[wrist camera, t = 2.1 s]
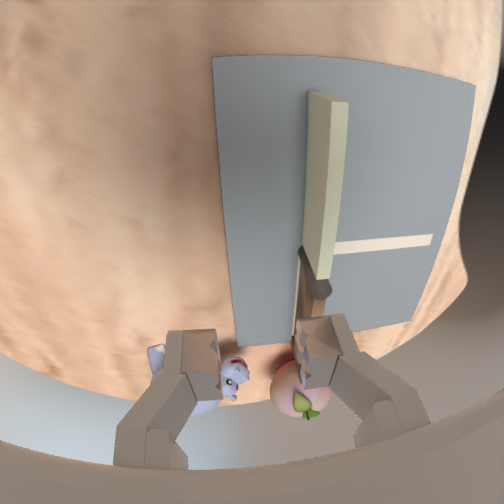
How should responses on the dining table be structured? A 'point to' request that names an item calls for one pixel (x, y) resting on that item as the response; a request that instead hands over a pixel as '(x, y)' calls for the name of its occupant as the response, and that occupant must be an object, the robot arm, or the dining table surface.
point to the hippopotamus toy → (230, 373)
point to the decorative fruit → (296, 394)
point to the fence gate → (323, 178)
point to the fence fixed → (309, 296)
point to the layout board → (353, 188)
